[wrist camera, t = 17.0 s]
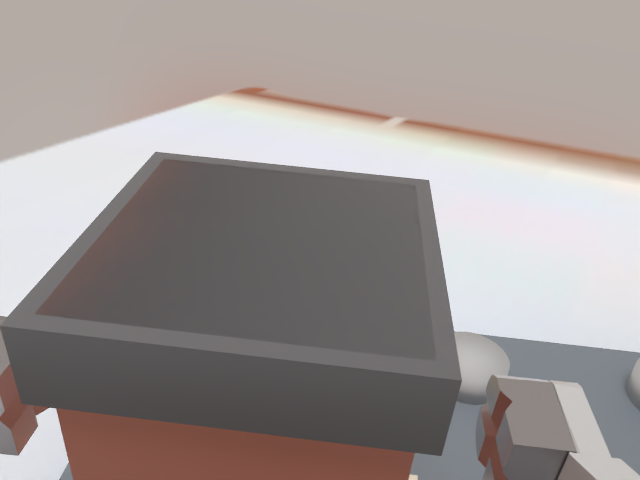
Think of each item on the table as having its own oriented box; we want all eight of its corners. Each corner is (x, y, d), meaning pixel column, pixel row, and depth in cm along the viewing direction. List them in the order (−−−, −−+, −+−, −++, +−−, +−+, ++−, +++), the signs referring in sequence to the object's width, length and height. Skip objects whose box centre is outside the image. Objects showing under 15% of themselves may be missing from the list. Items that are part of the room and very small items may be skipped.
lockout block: (366, 517, 15) (428, 180, 10) (360, 755, 11) (462, 380, 6) (183, 493, 16) (155, 152, 10) (109, 717, 11) (-1, 326, 6)
